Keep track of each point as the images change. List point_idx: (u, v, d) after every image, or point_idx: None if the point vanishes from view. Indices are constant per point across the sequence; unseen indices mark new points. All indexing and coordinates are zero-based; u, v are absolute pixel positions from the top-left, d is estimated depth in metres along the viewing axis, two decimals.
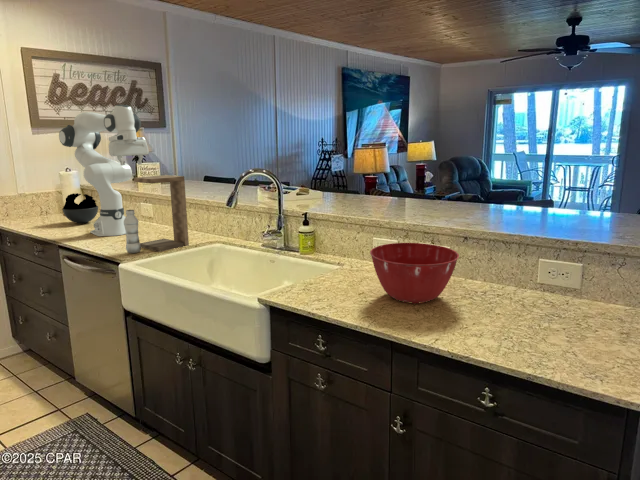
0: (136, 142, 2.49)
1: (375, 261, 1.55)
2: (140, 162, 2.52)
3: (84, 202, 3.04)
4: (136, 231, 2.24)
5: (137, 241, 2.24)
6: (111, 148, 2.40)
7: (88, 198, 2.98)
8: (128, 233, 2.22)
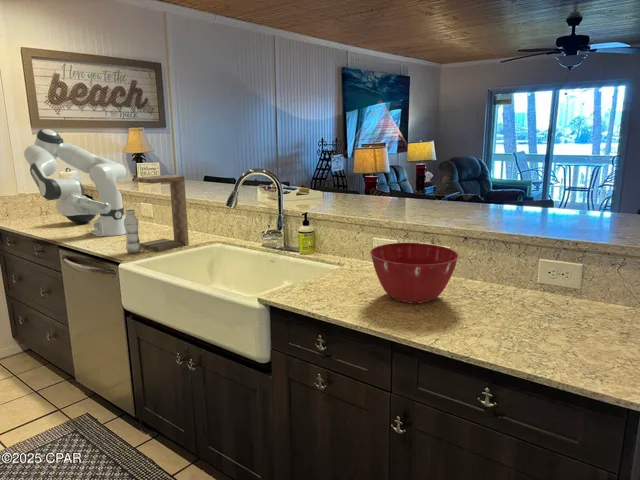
0: (76, 206, 2.26)
1: (375, 261, 1.55)
2: (86, 202, 2.20)
3: None
4: (136, 231, 2.24)
5: (137, 241, 2.24)
6: None
7: None
8: (128, 233, 2.22)
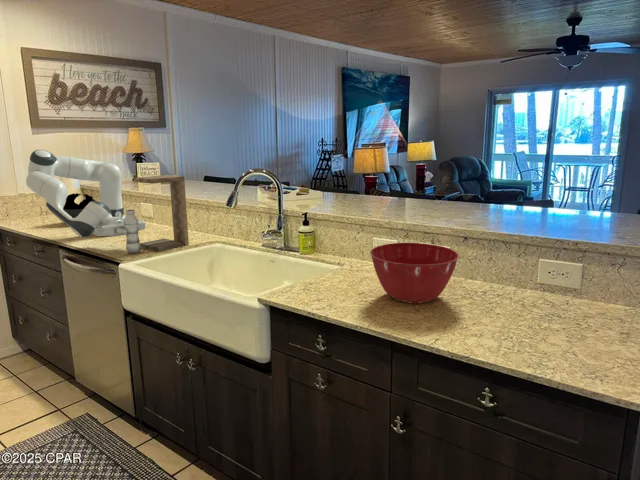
0: None
1: (375, 261, 1.55)
2: (124, 232, 2.22)
3: (84, 202, 3.04)
4: (136, 231, 2.24)
5: (137, 241, 2.24)
6: None
7: (88, 198, 2.98)
8: (128, 233, 2.22)
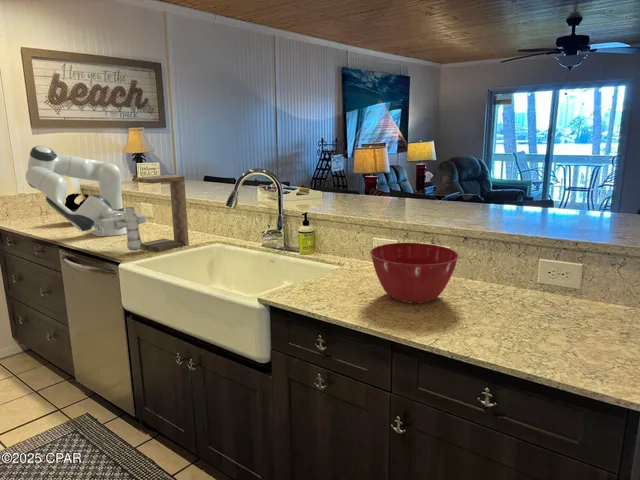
0: None
1: (375, 261, 1.55)
2: (124, 226, 2.21)
3: None
4: (137, 228, 2.24)
5: (138, 238, 2.24)
6: None
7: None
8: (129, 230, 2.22)
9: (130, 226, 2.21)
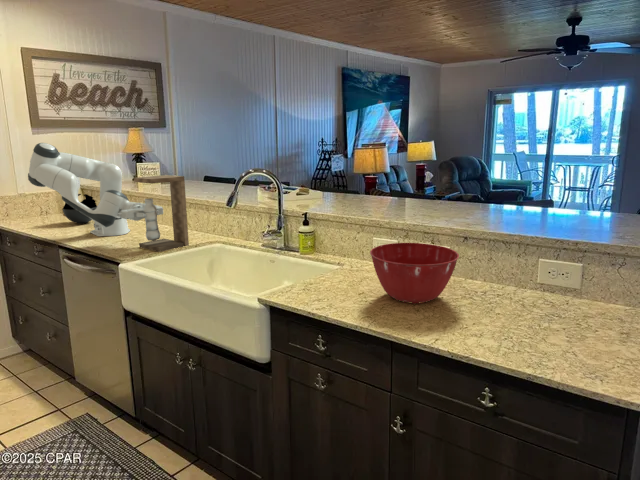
0: None
1: (375, 261, 1.55)
2: (143, 216, 2.28)
3: (84, 202, 3.04)
4: (156, 219, 2.31)
5: (157, 228, 2.31)
6: None
7: (88, 198, 2.98)
8: (148, 221, 2.29)
9: (149, 217, 2.29)
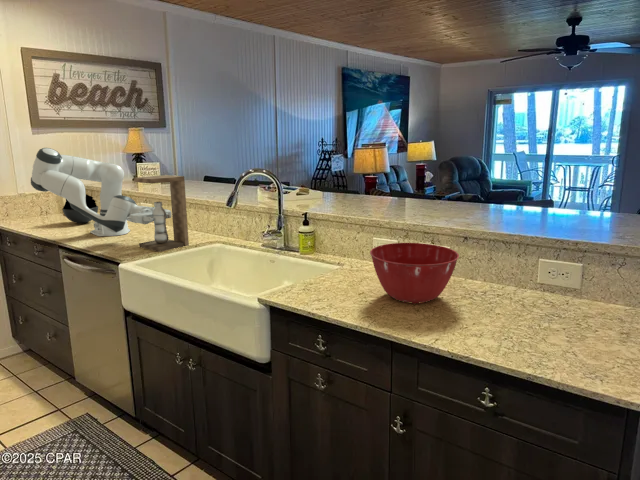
0: None
1: (375, 261, 1.55)
2: (151, 220, 2.32)
3: None
4: (164, 222, 2.35)
5: (165, 231, 2.35)
6: None
7: (88, 198, 2.98)
8: (157, 224, 2.33)
9: (158, 220, 2.32)
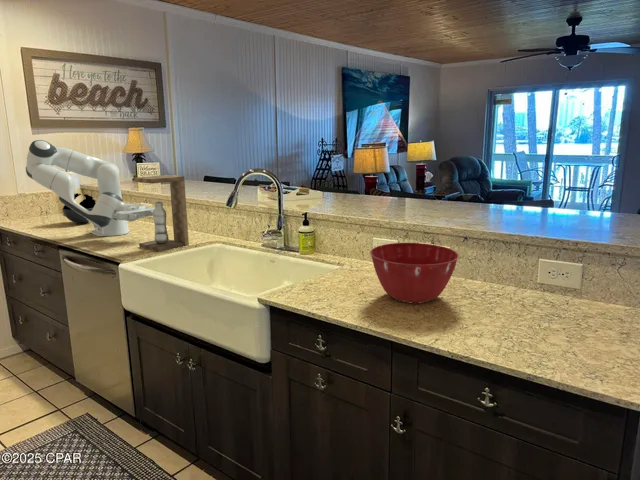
0: None
1: (375, 261, 1.55)
2: (136, 218, 2.39)
3: (84, 202, 3.04)
4: (165, 222, 2.34)
5: (165, 232, 2.35)
6: None
7: (88, 198, 2.98)
8: (157, 224, 2.32)
9: (158, 220, 2.32)
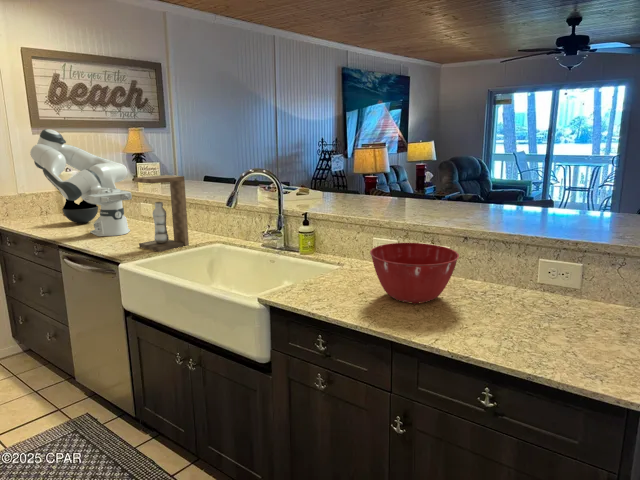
0: None
1: (375, 261, 1.55)
2: None
3: (84, 202, 3.04)
4: (165, 222, 2.34)
5: (165, 232, 2.35)
6: None
7: None
8: (157, 224, 2.32)
9: (158, 220, 2.32)
